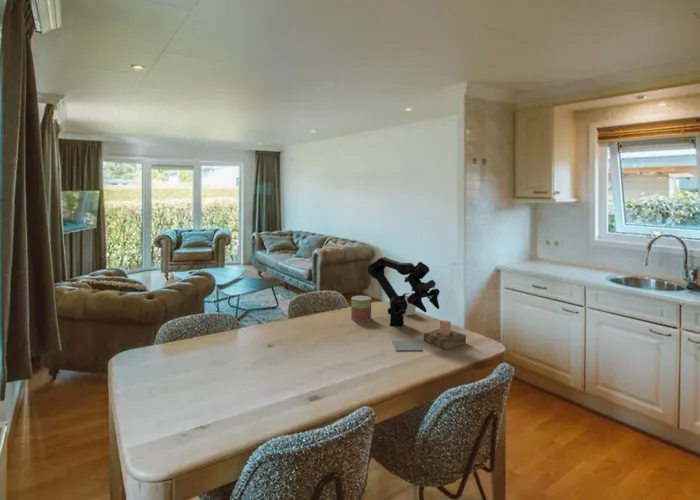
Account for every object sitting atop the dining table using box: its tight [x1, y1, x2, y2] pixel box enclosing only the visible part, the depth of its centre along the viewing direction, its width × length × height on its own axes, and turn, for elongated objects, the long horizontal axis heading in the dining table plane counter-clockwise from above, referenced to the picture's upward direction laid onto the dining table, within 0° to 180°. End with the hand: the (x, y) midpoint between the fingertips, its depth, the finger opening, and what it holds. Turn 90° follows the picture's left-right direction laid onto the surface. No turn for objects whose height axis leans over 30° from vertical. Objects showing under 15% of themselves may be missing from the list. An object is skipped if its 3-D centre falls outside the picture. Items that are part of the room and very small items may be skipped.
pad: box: [391, 339, 424, 352], centre depth 196 cm, size 12×12×1 cm
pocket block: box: [423, 328, 467, 351], centre depth 202 cm, size 14×14×4 cm
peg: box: [439, 320, 452, 337], centre depth 201 cm, size 5×5×10 cm
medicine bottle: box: [401, 292, 417, 317], centre depth 247 cm, size 7×7×12 cm
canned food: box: [350, 295, 372, 323], centre depth 237 cm, size 11×11×12 cm
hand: (432, 310), depth 206 cm, fingers open, 9 cm apart
